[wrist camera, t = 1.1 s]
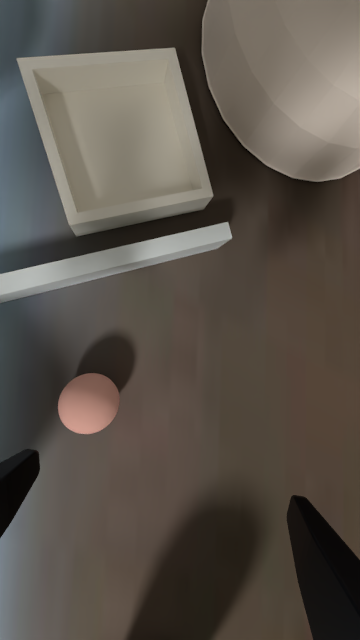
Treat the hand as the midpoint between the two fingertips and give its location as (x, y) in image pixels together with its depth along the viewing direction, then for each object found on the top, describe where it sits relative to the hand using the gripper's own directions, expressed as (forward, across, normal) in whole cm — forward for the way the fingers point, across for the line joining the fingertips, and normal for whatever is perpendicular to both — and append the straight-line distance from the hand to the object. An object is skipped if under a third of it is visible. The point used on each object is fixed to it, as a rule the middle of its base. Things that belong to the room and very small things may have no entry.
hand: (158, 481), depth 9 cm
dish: (+14, +7, -15) cm, 21 cm away
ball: (+8, +6, +3) cm, 10 cm away
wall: (+11, +8, -6) cm, 15 cm away
